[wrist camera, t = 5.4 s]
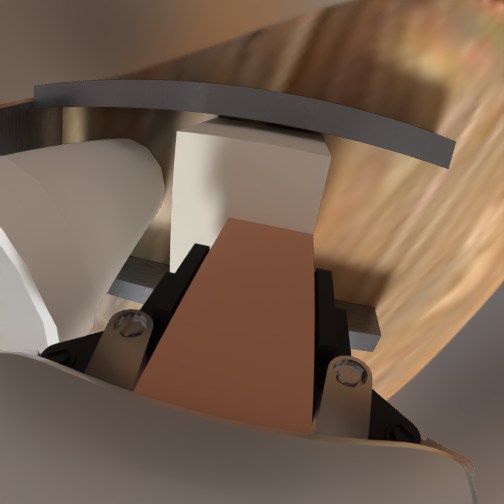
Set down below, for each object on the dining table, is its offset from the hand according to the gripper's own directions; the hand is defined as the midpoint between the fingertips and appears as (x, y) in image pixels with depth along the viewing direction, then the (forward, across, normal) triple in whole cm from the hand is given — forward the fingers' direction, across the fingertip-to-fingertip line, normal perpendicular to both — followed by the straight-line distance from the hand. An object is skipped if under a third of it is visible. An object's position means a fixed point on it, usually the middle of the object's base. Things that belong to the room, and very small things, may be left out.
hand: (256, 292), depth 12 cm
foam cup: (+9, +10, 0) cm, 13 cm away
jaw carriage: (+8, +1, 0) cm, 8 cm away
